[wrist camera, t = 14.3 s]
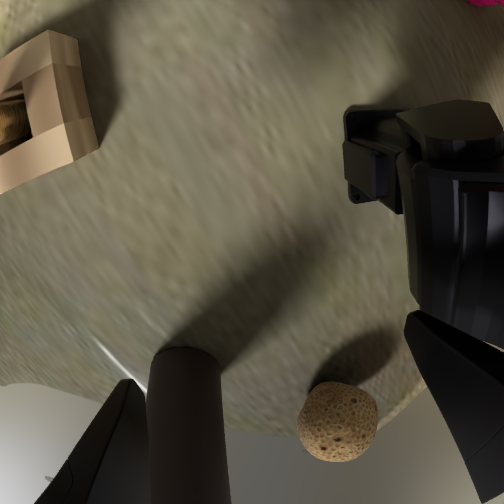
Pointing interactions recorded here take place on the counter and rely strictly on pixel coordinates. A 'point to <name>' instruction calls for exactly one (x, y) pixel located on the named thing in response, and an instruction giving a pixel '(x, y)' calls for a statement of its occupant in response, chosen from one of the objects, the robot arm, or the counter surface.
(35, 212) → the counter surface
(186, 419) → the bottle
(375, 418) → the natural sponge
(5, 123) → the T-key
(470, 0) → the pepper mill
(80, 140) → the tan square ring block
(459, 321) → the robot arm
